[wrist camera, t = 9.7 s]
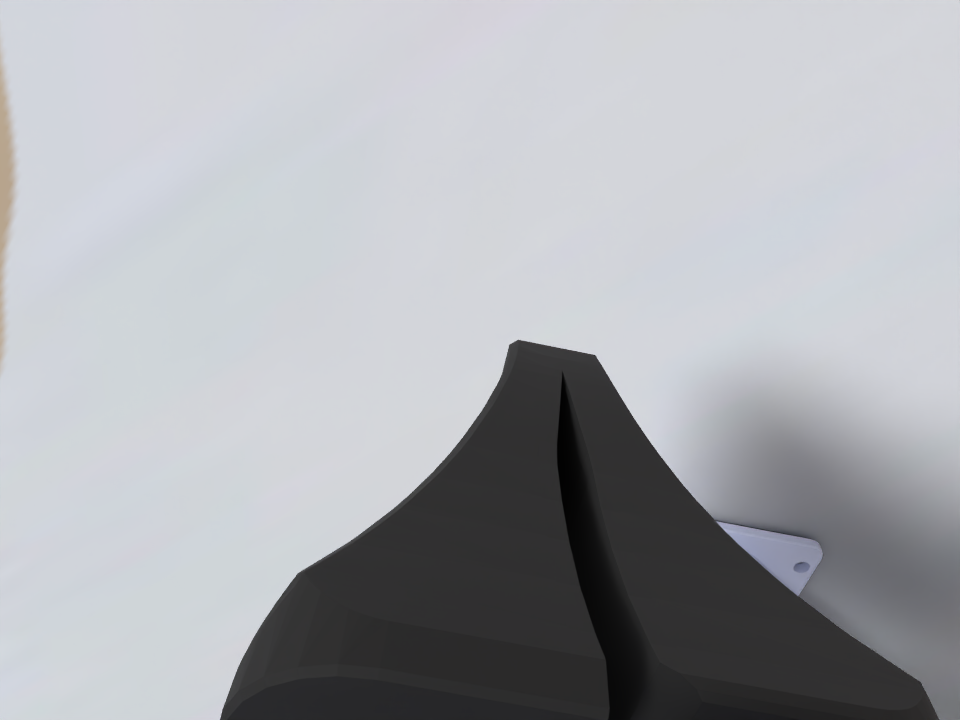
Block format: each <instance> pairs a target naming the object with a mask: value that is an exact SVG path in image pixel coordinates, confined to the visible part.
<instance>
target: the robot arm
mask: <svg viewBox="0 0 960 720" xmlns="http://www.w3.org/2000/svg"><path fill="white" fill-rule="evenodd" d="M822 557H823V552H822V549H821V547H820V544H819V543H818V542H817V541H815V540H812V539H807V538H802V537H796V536H791V535H786V534H781V533H775V532H770V531H765V530H759V529H754V528H749V527H744V526H738V525H733V524H728V523H722V522H717V521H715V520H714V519H713V518H712V517H711V516H710V515H709V513H708V512H707V511H706V510H705V509H704V508H703V507H702V506H701V505H700V504H699V503H698V502H697V501H696V500H695V498H694V497H693V496H692V495H691V494H690V493H689V491H688V490H687V489H686V488H685V487H684V486H683V484H682V483H681V482H680V481H679V479H678V478H677V477H676V476H675V474H674V473H673V472H672V471H671V469H670V468H669V467H668V465H667V464H666V463H665V462H664V460H663V459H662V458H661V456H660V455H659V454H658V452H657V451H656V450H655V448H654V447H653V445H652V444H651V443H650V441H649V440H648V439H647V437H646V436H645V434H644V433H643V431H642V430H641V428H640V427H639V425H638V424H637V422H636V421H635V419H634V418H633V416H632V415H631V413H630V411H629V410H628V408H627V407H626V405H625V403H624V402H623V400H622V398H621V397H620V395H619V394H618V392H617V390H616V389H615V387H614V385H613V384H612V382H611V380H610V379H609V377H608V375H607V374H606V372H605V370H604V369H603V367H602V365H601V364H600V362H599V361H598V359H597V357H596V356H595V355H592V354H587V353H582V352H577V351H572V350H567V349H561V348H556V347H551V346H546V345H541V344H536V343H531V342H526V341H521V340H517V341H515V342H514V343H512V344H510V345H509V349H508V353H507V357H506V361H505V365H504V369H503V373H502V376H501V378H500V380H499V382H498V384H497V386H496V388H495V389H494V391H493V393H492V395H491V396H490V398H489V400H488V402H487V403H486V405H485V407H484V408H483V410H482V411H481V413H480V414H479V416H478V417H477V419H476V420H475V421H474V423H473V424H472V425H471V427H470V428H469V430H468V431H467V432H466V434H465V435H464V437H463V438H462V439H461V441H460V442H459V443H458V444H457V445H456V447H455V448H454V449H453V450H452V452H451V453H450V454H449V455H448V456H447V457H446V458H445V460H444V461H443V462H442V463H441V464H440V465H439V466H438V467H437V468H436V469H435V470H434V472H433V473H432V474H431V475H430V476H429V477H428V478H427V479H425V480H424V481H423V482H422V483H421V484H420V485H419V486H418V487H417V488H416V489H415V490H414V491H413V492H412V493H411V494H410V495H409V496H408V497H407V498H405V499H404V500H403V501H402V502H401V503H400V504H399V505H397V506H396V507H395V508H394V509H393V510H391V511H390V512H389V513H387V514H386V515H385V516H383V517H382V518H381V519H379V520H378V521H377V522H376V523H374V524H373V525H372V526H370V527H369V528H368V529H366V530H365V531H364V532H362V533H361V534H360V535H359V536H357V537H356V538H354V539H353V540H351V541H350V542H348V543H347V544H345V545H344V546H342V547H340V548H339V549H337V550H336V551H334V552H332V553H331V554H329V555H327V556H326V557H324V558H322V559H321V560H319V561H317V562H316V563H314V564H313V565H311V566H309V567H308V568H306V569H304V570H303V571H301V572H299V573H298V574H297V575H296V577H295V578H294V579H293V581H292V582H291V583H290V585H289V586H288V587H287V589H286V590H285V591H284V593H283V594H282V596H281V597H280V598H279V600H278V601H277V602H276V604H275V605H274V607H273V608H272V610H271V611H270V613H269V614H268V616H267V617H266V619H265V620H264V622H263V623H262V625H261V626H260V628H259V630H258V631H257V633H256V635H255V636H254V638H253V640H252V642H251V644H250V646H249V647H248V649H247V651H246V653H245V655H244V657H243V659H242V661H241V663H240V665H239V667H238V669H237V672H236V675H235V677H234V680H233V683H232V685H231V688H230V691H229V694H228V696H227V699H226V702H225V705H224V707H223V710H222V714H221V718H220V720H939V719H938V717H937V714H936V712H935V710H934V708H933V706H932V704H931V702H930V700H929V698H928V696H927V694H926V692H925V690H924V688H923V686H922V684H921V682H919V681H918V680H916V679H915V678H913V677H912V676H910V675H909V674H907V673H906V672H904V671H903V670H901V669H900V668H898V667H897V666H895V665H894V664H892V663H891V662H889V661H888V660H886V659H885V658H883V657H882V656H880V655H879V654H877V653H876V652H874V651H873V650H871V649H870V648H868V647H867V646H865V645H864V644H862V643H861V642H859V641H858V640H856V639H855V638H853V637H852V636H850V635H849V634H847V633H846V632H844V631H843V630H842V629H840V628H839V627H838V626H836V625H835V624H834V623H832V622H831V621H830V620H828V619H827V618H826V617H824V616H823V615H822V614H821V613H819V612H818V611H817V610H815V609H814V608H813V607H811V606H810V605H809V604H807V603H806V602H805V601H804V600H802V599H801V598H800V597H798V596H799V594H800V593H801V591H802V590H803V588H804V587H805V585H806V583H807V582H808V580H809V579H810V577H811V575H812V574H813V572H814V571H815V569H816V568H817V566H818V564H819V563H820V561H821V560H822ZM800 562H803V563H800ZM797 563H800V564H797Z"/></svg>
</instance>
